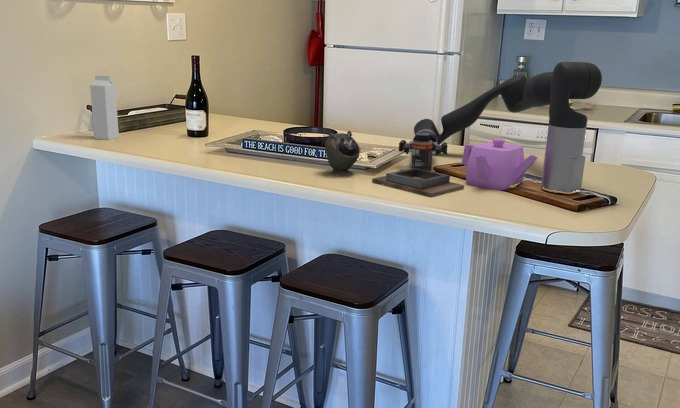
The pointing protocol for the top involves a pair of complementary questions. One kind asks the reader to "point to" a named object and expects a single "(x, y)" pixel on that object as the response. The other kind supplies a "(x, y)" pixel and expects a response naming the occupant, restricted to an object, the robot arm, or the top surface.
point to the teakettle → (495, 164)
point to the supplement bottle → (422, 152)
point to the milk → (104, 108)
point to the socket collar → (428, 181)
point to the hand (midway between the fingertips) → (421, 151)
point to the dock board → (427, 192)
